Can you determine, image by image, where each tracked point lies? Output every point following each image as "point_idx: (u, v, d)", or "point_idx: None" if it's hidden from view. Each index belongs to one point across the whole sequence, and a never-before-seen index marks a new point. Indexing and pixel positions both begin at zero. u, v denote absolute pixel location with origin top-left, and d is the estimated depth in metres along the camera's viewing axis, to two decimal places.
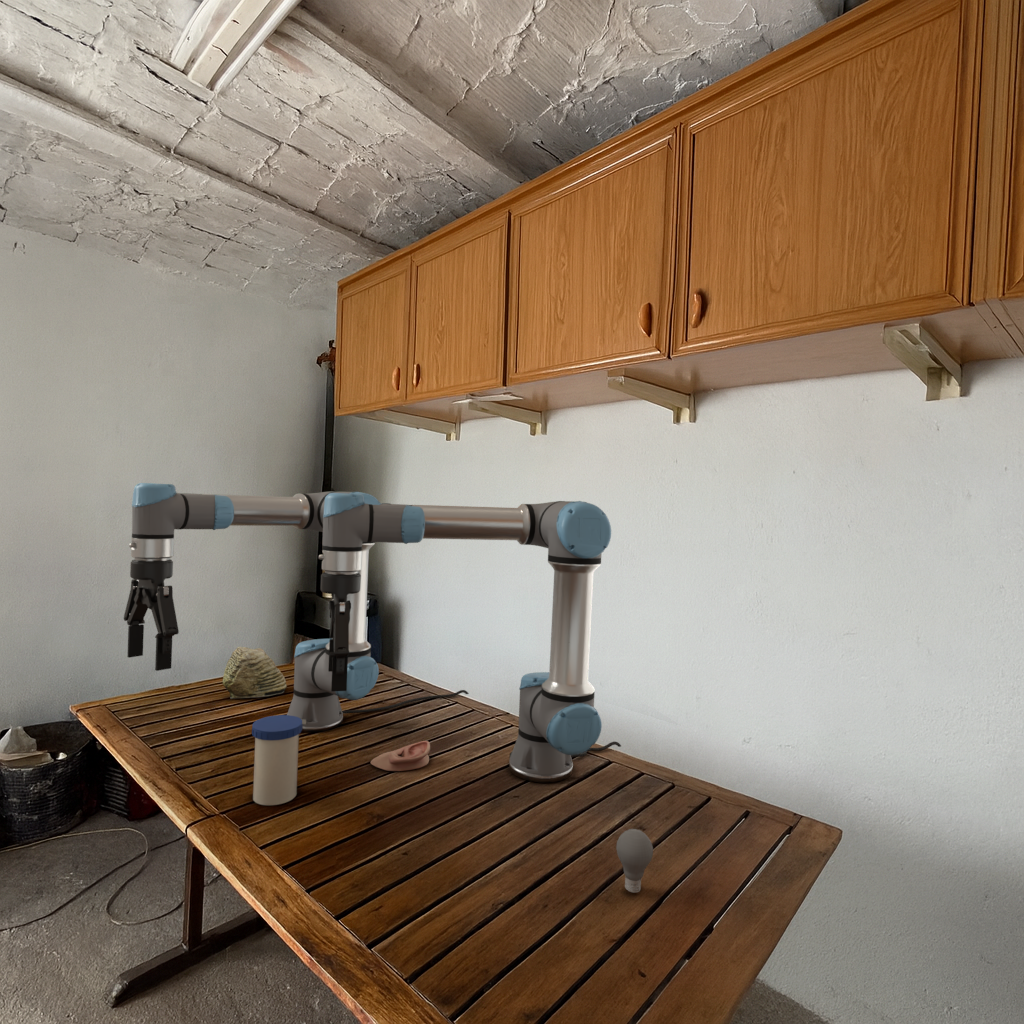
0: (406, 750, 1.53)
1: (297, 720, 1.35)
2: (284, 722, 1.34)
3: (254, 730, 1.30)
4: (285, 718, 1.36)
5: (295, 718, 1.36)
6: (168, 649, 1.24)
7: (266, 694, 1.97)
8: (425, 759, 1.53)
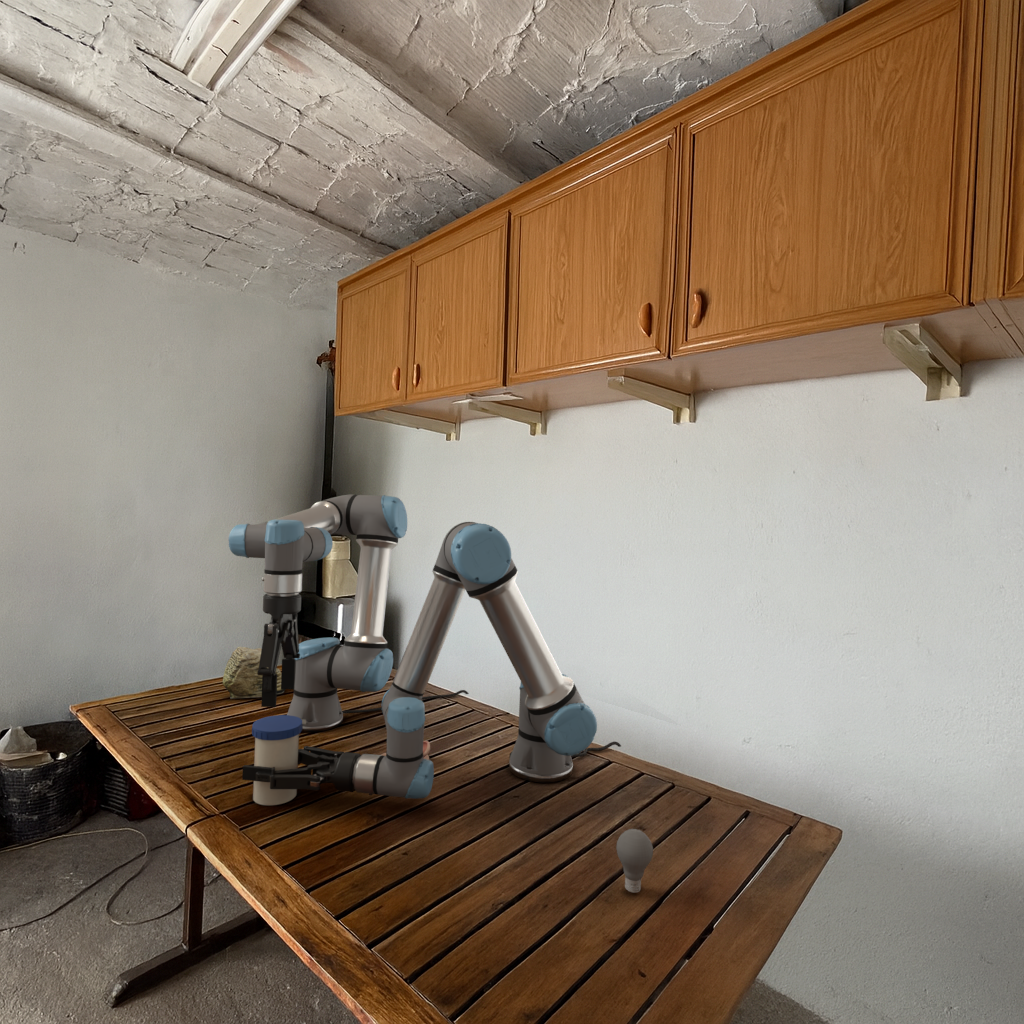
0: None
1: (297, 720, 1.35)
2: (284, 722, 1.34)
3: (254, 730, 1.30)
4: (285, 718, 1.36)
5: (295, 718, 1.36)
6: (268, 688, 1.26)
7: None
8: None
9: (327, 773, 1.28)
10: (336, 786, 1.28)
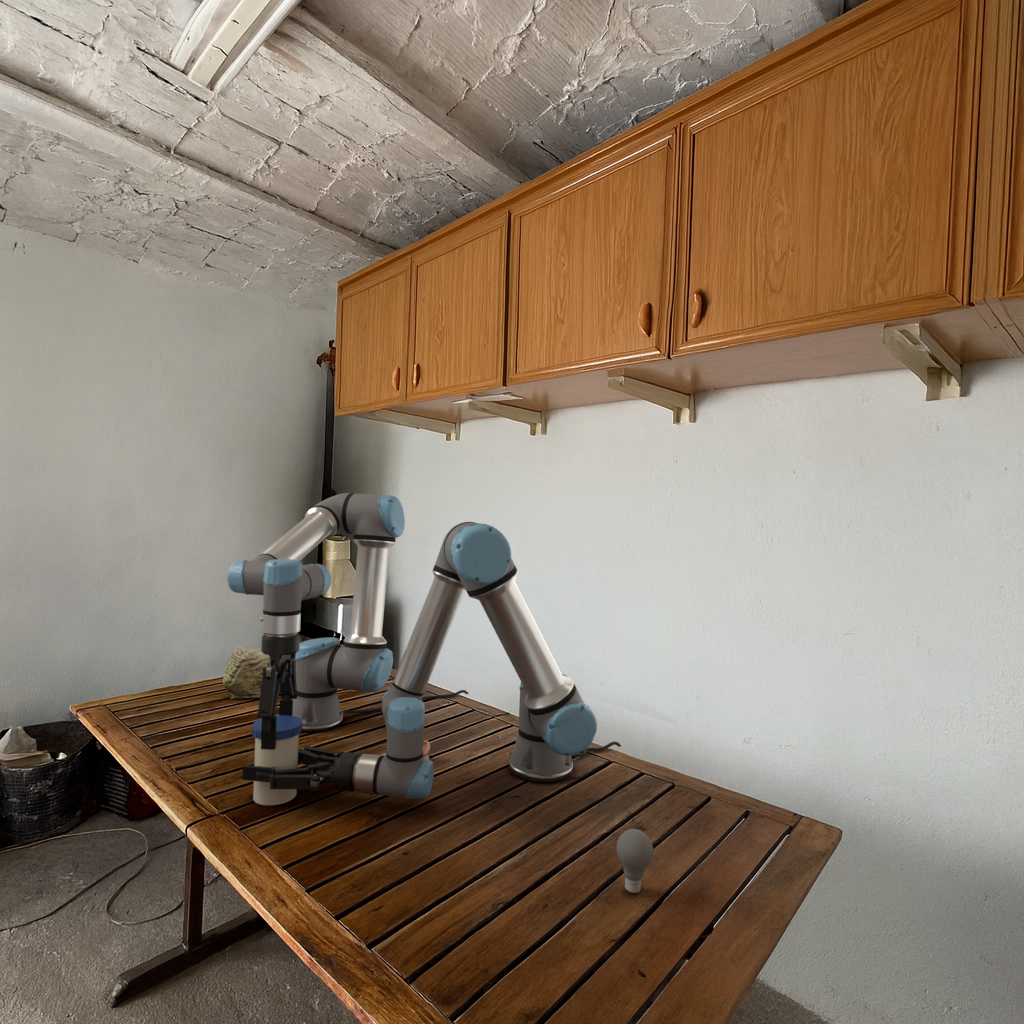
0: None
1: (297, 720, 1.35)
2: (284, 722, 1.34)
3: (254, 730, 1.30)
4: (285, 718, 1.36)
5: (295, 718, 1.36)
6: (267, 731, 1.26)
7: None
8: None
9: (327, 773, 1.28)
10: (336, 786, 1.28)
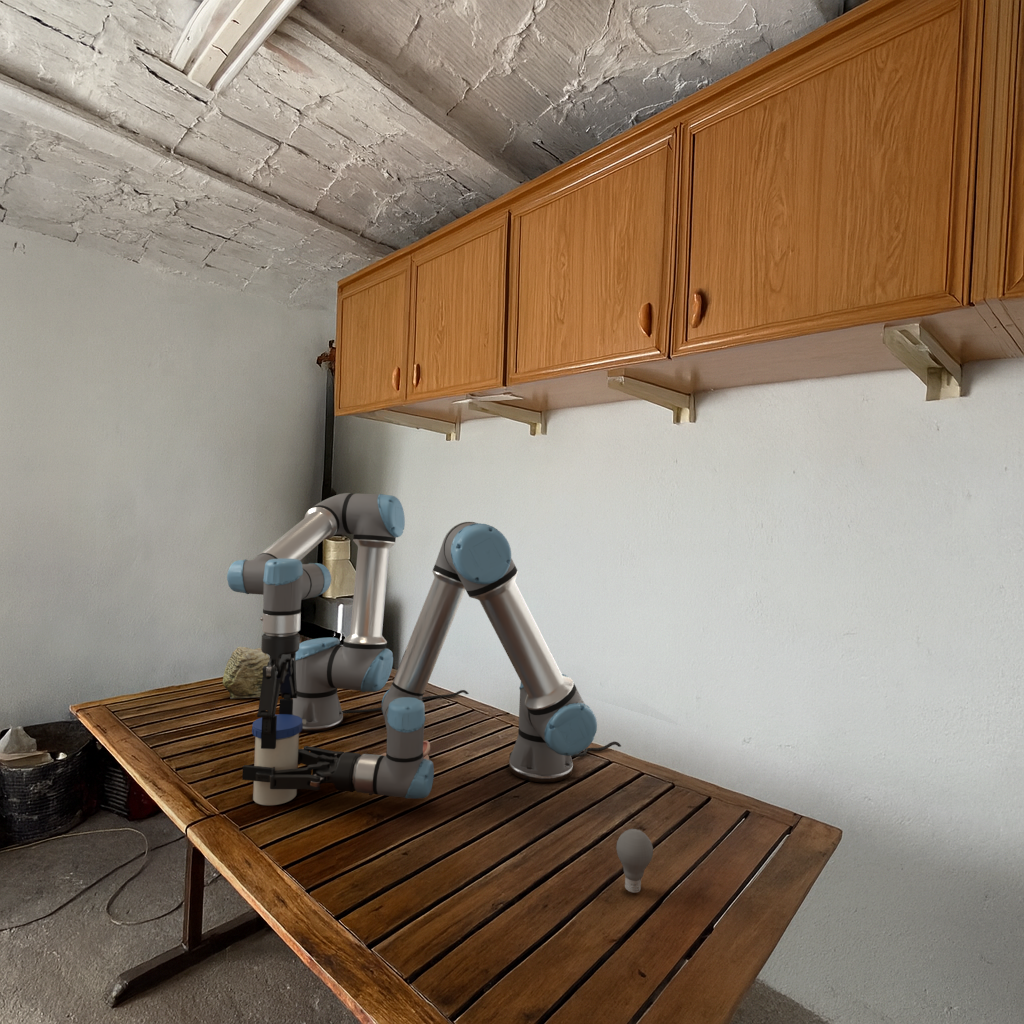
0: None
1: (284, 715, 1.37)
2: (280, 719, 1.35)
3: (276, 732, 1.29)
4: None
5: (277, 715, 1.37)
6: (267, 730, 1.26)
7: None
8: None
9: (327, 773, 1.28)
10: (336, 786, 1.28)
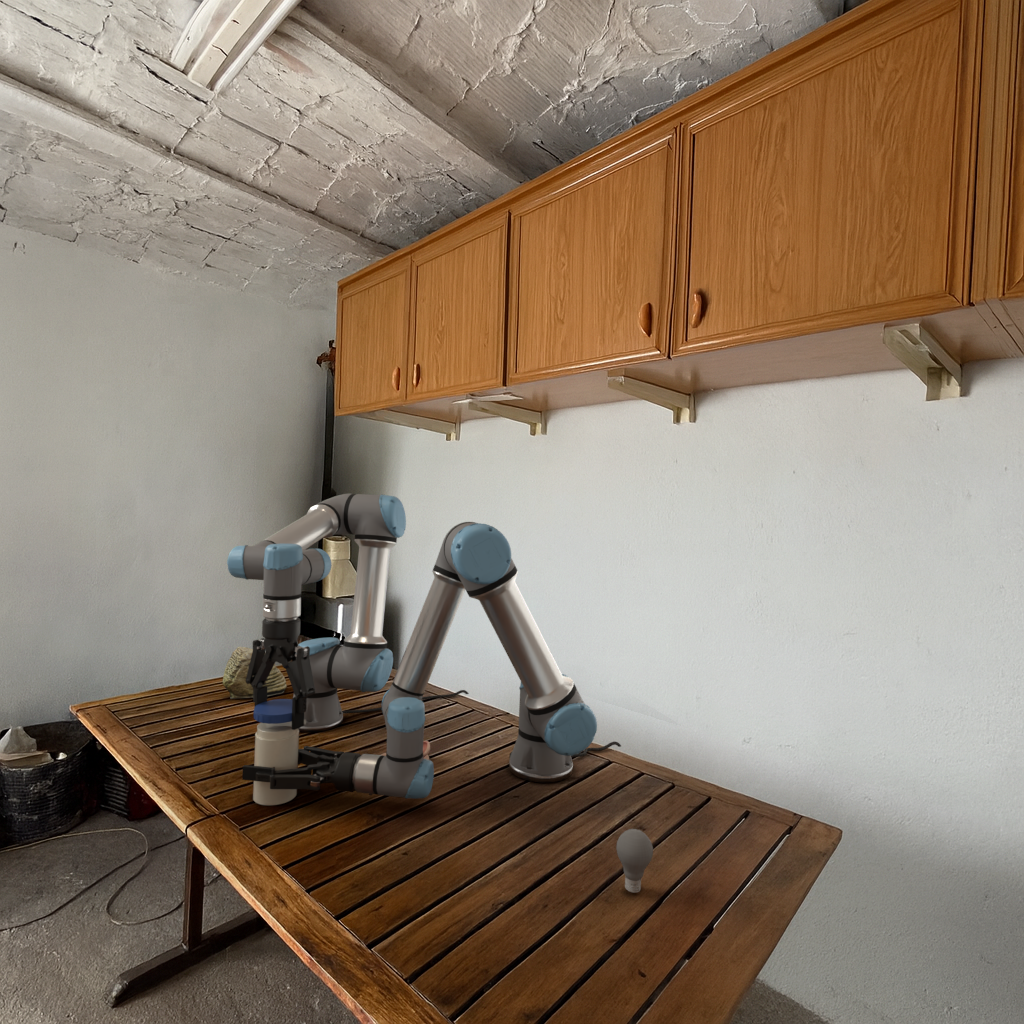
0: None
1: (265, 703, 1.35)
2: (275, 705, 1.34)
3: None
4: (264, 708, 1.32)
5: (260, 705, 1.34)
6: (304, 708, 1.31)
7: None
8: None
9: (327, 773, 1.28)
10: (336, 786, 1.28)
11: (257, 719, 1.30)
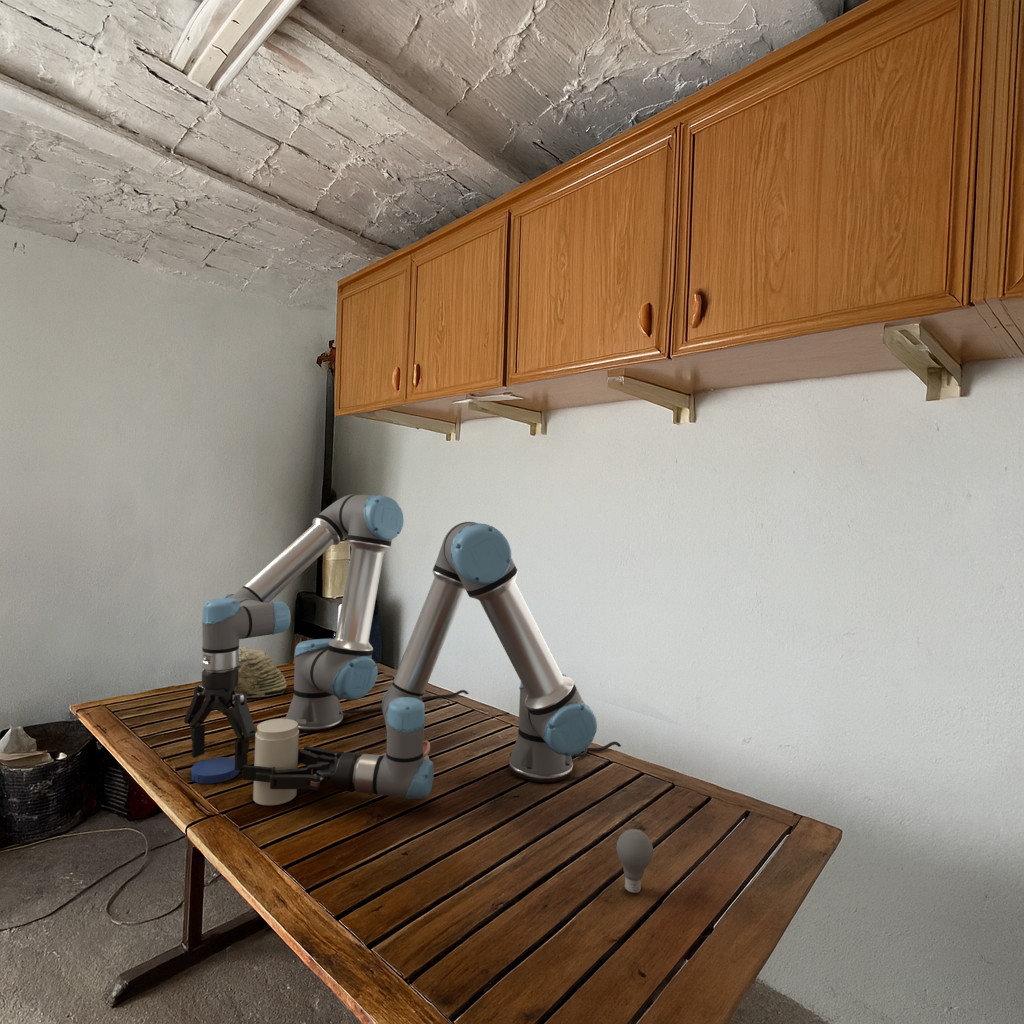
0: None
1: (203, 762, 1.44)
2: (212, 764, 1.43)
3: (235, 770, 1.41)
4: (201, 767, 1.41)
5: (198, 764, 1.43)
6: (246, 750, 1.39)
7: (266, 694, 1.97)
8: None
9: (327, 773, 1.28)
10: (336, 786, 1.28)
11: (193, 779, 1.38)
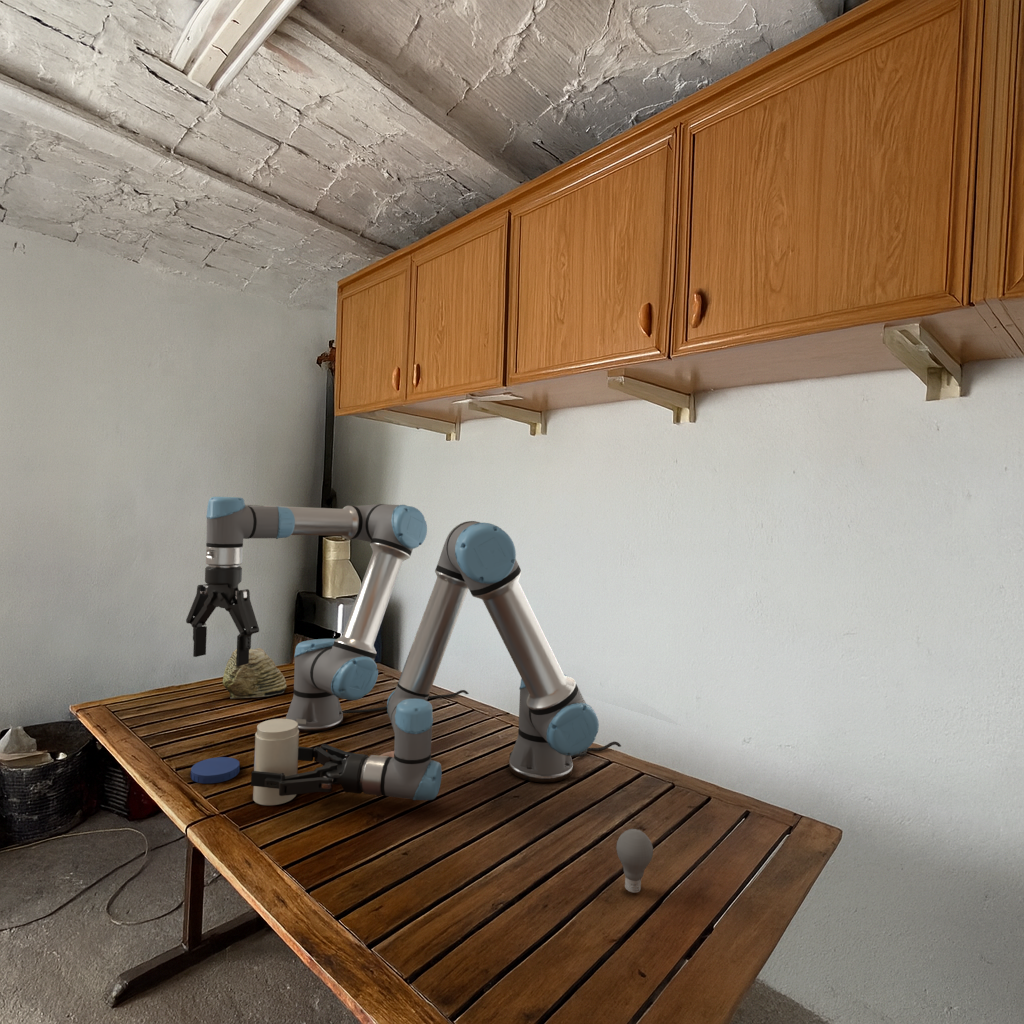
0: None
1: (203, 762, 1.44)
2: (212, 764, 1.43)
3: (235, 770, 1.41)
4: (201, 767, 1.41)
5: (198, 764, 1.43)
6: (248, 646, 1.39)
7: (266, 694, 1.97)
8: None
9: (336, 774, 1.28)
10: (344, 787, 1.28)
11: (193, 779, 1.38)
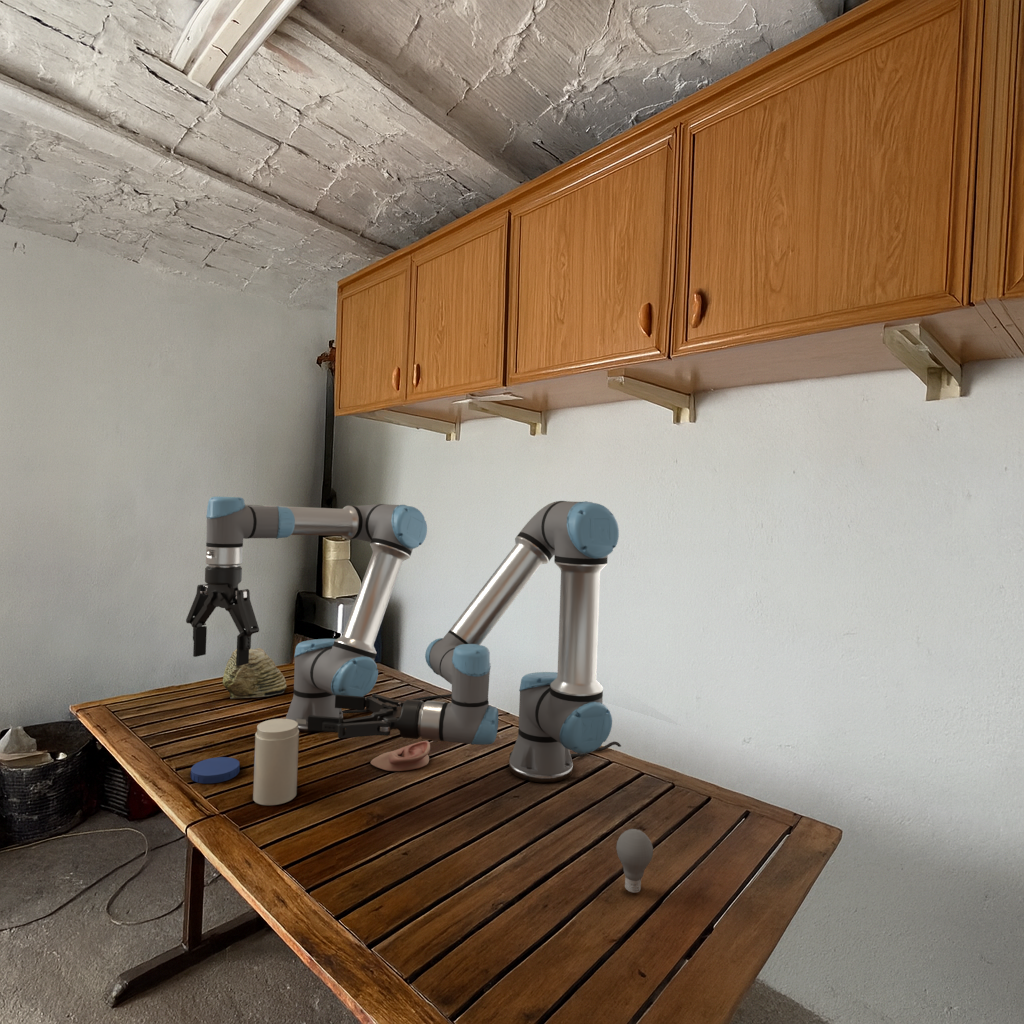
0: (406, 750, 1.53)
1: (203, 762, 1.44)
2: (212, 764, 1.43)
3: (235, 770, 1.41)
4: (201, 767, 1.41)
5: (198, 764, 1.43)
6: (248, 646, 1.39)
7: (266, 694, 1.97)
8: (425, 759, 1.53)
9: (393, 718, 1.27)
10: (401, 732, 1.27)
11: (193, 779, 1.38)
